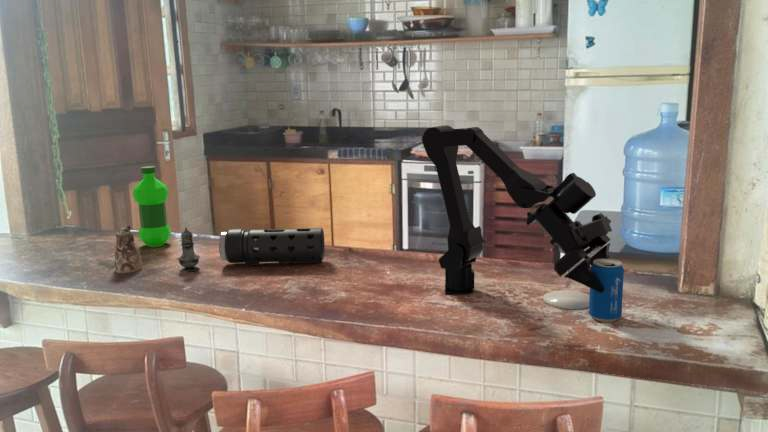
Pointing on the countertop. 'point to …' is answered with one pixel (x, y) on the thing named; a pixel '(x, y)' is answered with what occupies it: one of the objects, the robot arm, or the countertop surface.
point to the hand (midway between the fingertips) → (610, 285)
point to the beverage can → (607, 290)
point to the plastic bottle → (152, 208)
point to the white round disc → (567, 299)
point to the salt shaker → (188, 254)
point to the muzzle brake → (272, 246)
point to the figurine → (126, 252)
